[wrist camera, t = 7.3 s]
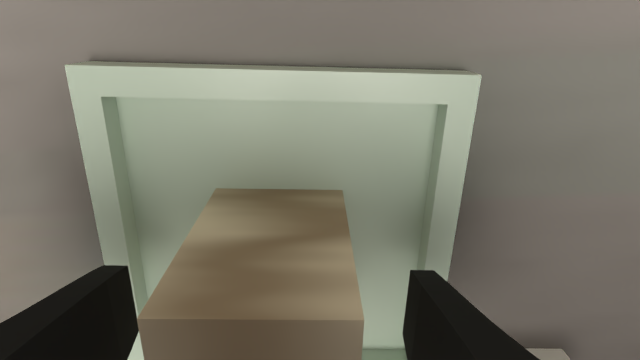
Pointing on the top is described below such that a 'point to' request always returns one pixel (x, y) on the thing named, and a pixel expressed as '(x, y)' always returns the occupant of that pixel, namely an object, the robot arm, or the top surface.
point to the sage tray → (279, 162)
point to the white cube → (548, 354)
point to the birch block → (259, 282)
